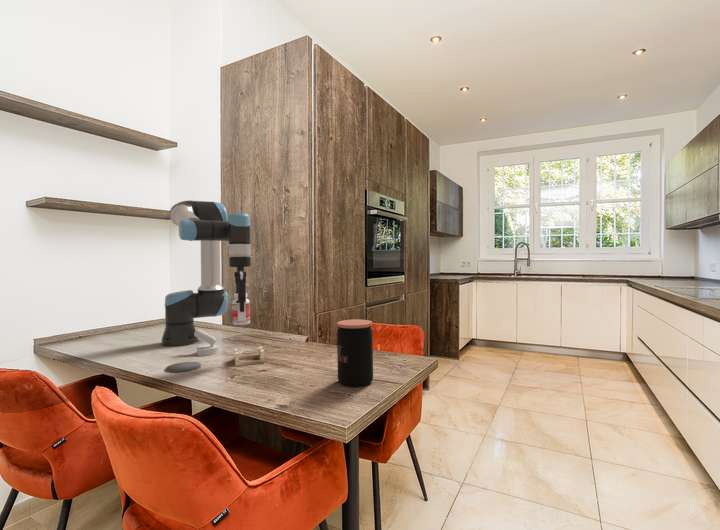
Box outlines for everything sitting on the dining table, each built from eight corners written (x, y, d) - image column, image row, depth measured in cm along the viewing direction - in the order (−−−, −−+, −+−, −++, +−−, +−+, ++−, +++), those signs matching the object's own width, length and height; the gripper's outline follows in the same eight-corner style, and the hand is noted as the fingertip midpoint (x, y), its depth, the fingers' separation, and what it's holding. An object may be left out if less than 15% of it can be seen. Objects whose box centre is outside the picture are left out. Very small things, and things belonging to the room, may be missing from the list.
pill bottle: (248, 321, 144) (247, 292, 144) (251, 324, 139) (251, 294, 138) (231, 323, 141) (230, 293, 141) (233, 326, 136) (233, 295, 135)
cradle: (234, 358, 144) (234, 348, 144) (261, 356, 147) (261, 345, 147) (235, 366, 134) (235, 354, 134) (264, 362, 138) (264, 351, 138)
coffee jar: (337, 377, 120) (336, 319, 119) (371, 375, 121) (370, 318, 120) (338, 388, 109) (337, 325, 109) (375, 387, 110) (374, 324, 110)
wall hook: (201, 327, 159) (223, 327, 157) (202, 350, 159) (224, 350, 157) (188, 331, 151) (211, 331, 149) (189, 355, 151) (211, 356, 149)
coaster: (168, 365, 136) (168, 363, 136) (201, 362, 140) (201, 360, 140) (164, 374, 126) (163, 372, 126) (200, 370, 130) (200, 368, 130)
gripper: (227, 256, 147) (229, 316, 147) (230, 256, 129) (231, 324, 130) (248, 256, 150) (249, 314, 150) (253, 255, 132) (254, 322, 132)
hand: (241, 319), depth 140 cm, fingers closed on pill bottle, 6 cm apart
